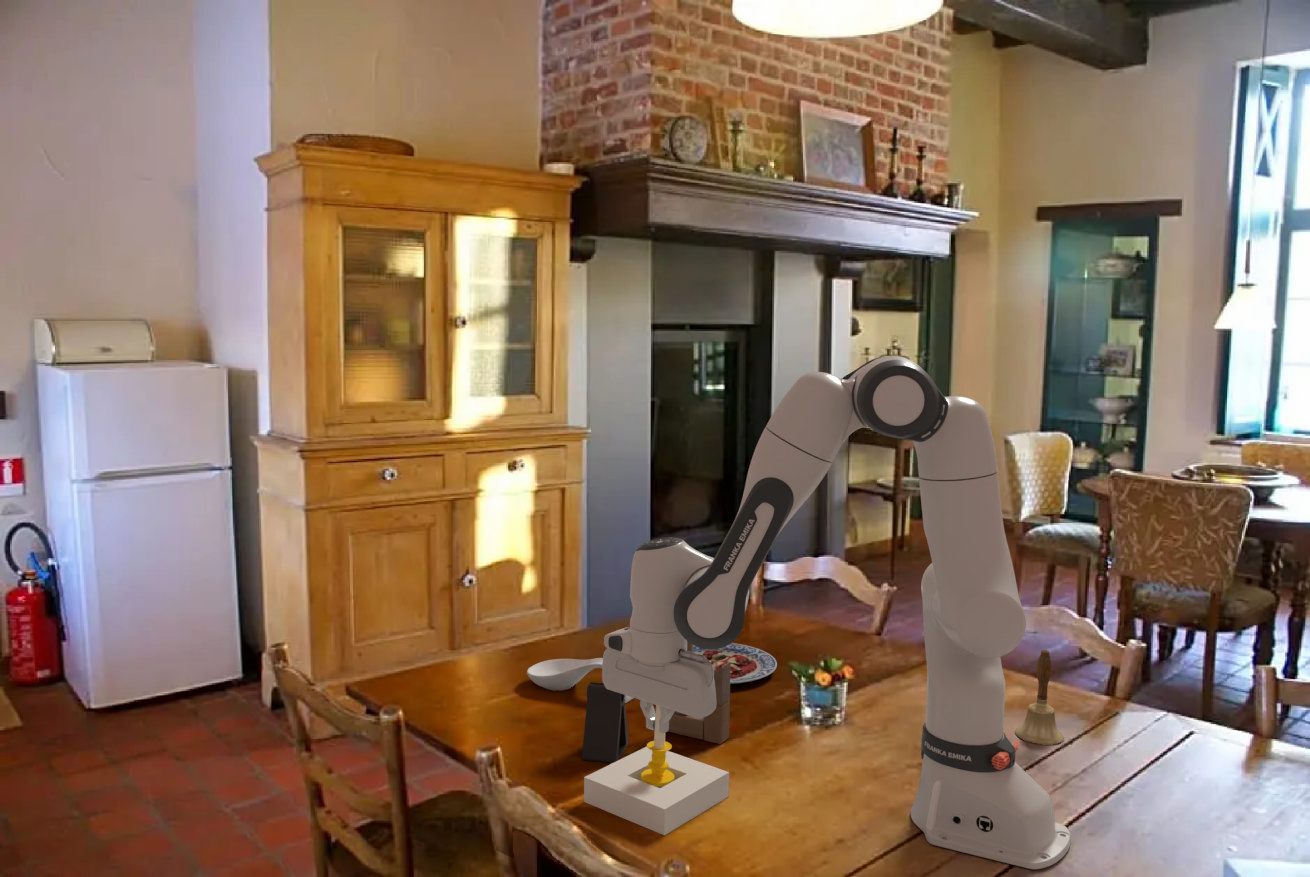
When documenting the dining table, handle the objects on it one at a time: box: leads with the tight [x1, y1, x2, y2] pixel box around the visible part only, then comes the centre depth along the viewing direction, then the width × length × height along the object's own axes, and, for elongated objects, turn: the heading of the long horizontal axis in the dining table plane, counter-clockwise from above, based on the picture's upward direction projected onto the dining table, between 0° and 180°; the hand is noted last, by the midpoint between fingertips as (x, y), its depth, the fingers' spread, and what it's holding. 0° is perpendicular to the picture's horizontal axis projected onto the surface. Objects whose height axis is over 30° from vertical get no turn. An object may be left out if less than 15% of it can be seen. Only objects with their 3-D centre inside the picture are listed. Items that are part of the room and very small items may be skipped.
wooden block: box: [667, 641, 731, 745], centre depth 184 cm, size 4×11×18 cm, turn 61°
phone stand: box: [581, 681, 630, 764], centre depth 177 cm, size 9×6×12 cm, turn 167°
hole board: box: [583, 746, 730, 836], centre depth 160 cm, size 16×16×4 cm
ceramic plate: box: [693, 642, 778, 685], centre depth 220 cm, size 26×26×3 cm
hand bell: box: [1014, 649, 1065, 746], centre depth 186 cm, size 8×8×16 cm
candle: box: [641, 705, 674, 787], centre depth 159 cm, size 5×5×16 cm
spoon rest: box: [526, 657, 635, 704], centre depth 207 cm, size 24×12×7 cm, turn 62°
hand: (657, 730), depth 159 cm, fingers closed on candle
